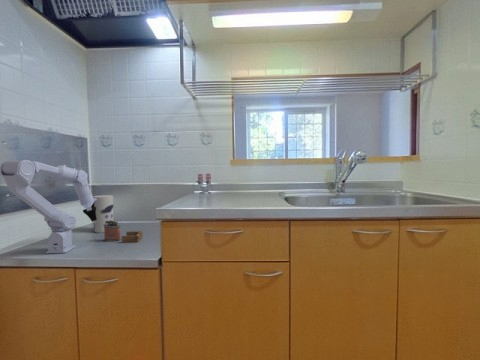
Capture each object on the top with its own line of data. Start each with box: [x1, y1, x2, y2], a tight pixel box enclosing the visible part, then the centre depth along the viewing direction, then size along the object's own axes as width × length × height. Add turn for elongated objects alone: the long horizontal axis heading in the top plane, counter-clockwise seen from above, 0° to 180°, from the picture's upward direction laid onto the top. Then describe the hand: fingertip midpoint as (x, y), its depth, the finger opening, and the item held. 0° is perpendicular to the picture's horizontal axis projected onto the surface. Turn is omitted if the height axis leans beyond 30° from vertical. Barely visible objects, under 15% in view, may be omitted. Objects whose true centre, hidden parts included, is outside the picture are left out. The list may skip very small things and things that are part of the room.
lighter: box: [103, 220, 122, 243], centre depth 129 cm, size 8×3×10 cm, turn 84°
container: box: [93, 194, 115, 234], centre depth 149 cm, size 10×10×20 cm
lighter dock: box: [121, 230, 144, 244], centre depth 131 cm, size 10×8×3 cm
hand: (93, 217), depth 131 cm, fingers open, 7 cm apart
